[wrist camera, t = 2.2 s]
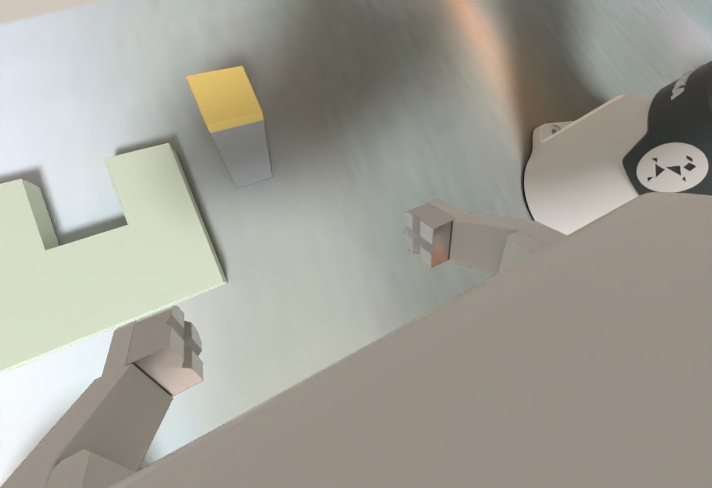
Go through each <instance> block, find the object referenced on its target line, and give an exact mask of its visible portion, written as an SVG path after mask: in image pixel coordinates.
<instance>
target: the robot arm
mask: <svg viewBox="0 0 712 488" xmlns="http://www.w3.org/2000/svg"><path fill="white" fill-rule="evenodd" d="M524 189H525V196H526V200H527V203H528V206H529V209H530V212H531V214H532V216H533V218H534V220H535V221H531V220H523V219H515V218H506V217H498V216H490V215H481V214H473V213H469V214H465V213H463V212H462V211H460V210H458V209H456V208H454V207H452V206H451V205H449V204H447V203H445V202H443V201H442V200H440V199H434V200H432V201H430V202H427V203H425V204H424V205H421V206H419V207H417V208H414V209H412V210H409V211H407V212H404V213H403V216H402V222H403V223H404V224H405V225H406V226H405V228H404V230H403V239H404V242H405V244H406V246H407V247H408V249H409V250H410V251H411V252H413V253H416V254H420V259H421V260H422V261H423V262H424V263H425V264H427V265H428V266H429V267H430V268H433V267H435V266H437V265H439V264H441V263H443V262H446V261H448V260H449V261H451V262H454V263H457V264H460V265H463V266H466V267H469V268H472V269H475V270H478V271H481V272H484V273H487V274H490V275H493V276H492V277H490V278H489V279H487V280H485V281H483V282H481V283H479V284H478V285H476V286H474V287H472V288H470V289H469V290H467V291H465V292H463V293H461V294H459V295H458V296H456V297H454V298H452V299H450V300H449V301H447V302H445V303H443V304H441V305H439V306H438V307H436V308H434V309H432V310H430V311H429V312H427V313H425V314H423V315H421V316H419V317H418V318H416V319H414V320H412V321H410V322H408V323H407V324H405V325H403V326H401V327H399V328H398V329H396V330H394V331H392V332H390V333H388V334H387V335H385V336H383V337H381V338H379V339H378V340H376V341H374V342H372V343H370V344H368V345H367V346H365V347H363V348H361V349H359V350H357V351H356V352H354V353H352V354H350V355H348V356H347V357H345V358H343V359H341V360H339V361H337V362H336V363H334V364H332V365H330V366H328V367H327V368H325V369H323V370H321V371H319V372H317V373H316V374H314V375H312V376H310V377H308V378H306V379H305V380H303V381H301V382H299V383H297V384H296V385H294V386H292V387H290V388H288V389H286V390H285V391H283V392H281V393H279V394H277V395H276V396H274V397H272V398H270V399H268V400H266V401H265V402H263V403H261V404H259V405H257V406H256V407H254V408H252V409H250V410H248V411H246V412H245V413H243V414H241V415H239V416H237V417H235V418H234V419H232V420H230V421H228V422H226V423H225V424H223V425H221V426H219V427H217V428H215V429H214V430H212V431H210V432H208V433H206V434H205V435H203V436H201V437H199V438H197V439H195V440H194V441H192V442H190V443H188V444H186V445H185V446H183V447H181V448H179V449H177V450H175V451H174V452H172V453H170V454H168V455H166V456H164V457H163V458H161V459H159V460H157V461H155V462H154V463H152V464H150V465H148V466H146V467H144V468H143V469H141V470H139V471H138V469H139V467H140V465H141V462H142V460H143V458H144V456H145V454H146V452H147V450H148V448H149V446H150V444H151V442H152V440H153V438H154V436H155V434H156V432H157V430H158V428H159V426H160V424H161V422H162V420H163V418H164V416H165V414H166V412H167V410H168V408H169V406H170V404H171V401H172V399H173V398H172V397H173V396H175V395H177V394H179V393H181V392H183V391H184V390H186V389H188V388H190V387H192V386H194V385H196V384H198V383H200V382H202V381H203V362H202V361H201V360H200V358H199V357H198V356H199V354H200V352H201V351H202V345H201V340H200V337H199V334H198V332H197V330H196V328H195V327H194V325H193V324H192V323H191V322H187V321H184V313H183V312H182V310H181V309H180V308H179V307H178V306H172V307H169V308H167V309H164V310H162V311H159V312H156V313H154V314H151V315H149V316H146V317H143V318H141V319H138V320H137V321H133V322H131V323H128V324H126V325H123V326H121V327H118V328H117V329H116V330H115V331H114V333H113V337H112V341H111V344H110V348H109V352H108V355H107V359H106V363H105V366H104V370H103V373H102V377H100V378H98V379H95V380H94V381H93V383H92V384H91V385H90V386H89V387H88V388H87V389H86V390H85V392H84V393H83V394H82V395H81V396H80V397H79V398H78V400H77V401H76V402H75V403H74V404H73V405H72V406H71V408H70V409H69V410H68V411H67V412H66V413H65V414H64V416H63V417H62V418H61V419H60V420H59V421H58V422H57V424H56V425H55V426H54V427H53V428H52V429H51V430H50V431H49V433H48V434H47V435H46V436H45V437H44V438H43V439H42V441H41V442H40V443H39V444H38V445H37V446H36V447H35V449H34V450H33V451H32V452H31V453H30V454H29V455H28V457H27V458H26V459H25V460H24V461H23V462H22V463H21V465H20V466H19V467H18V468H17V469H16V470H15V471H14V472H13V474H12V475H11V476H10V477H9V478H8V479H7V480H6V482H5V483H4V484H3V485H2V486H1V487H0V488H712V61H711V62H709V63H707V64H705V65H702V66H699V67H697V68H695V69H693V70H691V71H690V72H688V73H686V74H684V75H683V76H682V77H680V78H679V79H678V80H676V81H674V82H673V83H671V84H669V85H667V86H666V87H664V88H662V89H661V90H660V91H659V92H658V93H657V94H655V95H649V96H641V95H629V96H624V95H620V96H617V97H615V98H613V99H611V100H610V101H608V102H606V103H604V104H603V105H601V106H599V107H598V108H596V109H594V110H593V111H591V112H589V113H588V114H586V115H584V116H583V117H581V118H579V119H578V120H576V121H568V122H557V123H546V124H543V125H541V126H539V127H537V128H536V129H535V130H534V132H533V150H532V154H531V156H530V158H529V161H528V163H527V166H526V169H525V176H524Z"/></svg>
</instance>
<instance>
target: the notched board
mask: <svg viewBox="0 0 712 488" xmlns="http://www.w3.org/2000/svg"><path fill="white" fill-rule="evenodd" d="M104 161H105V164H106V166H107V169H108V172H109V174H110V177H111V180H112V183H113V185H114V188H115V191H116V194H117V196H118V199H119V202H120V204H121V207H122V210H123V213H124V215H125V218H126V221H127V224H128V225H125V226H122V227H119V228H116V229H113V230H109V231H106V232H103V233H100V234H96V235H93V236H90V237H87V238H84V239H80V240H77V241H74V242H71V243H67V244H64V245H61V246H60V245H59V242H58V239H57V236H56V233H55V230H54V227H53V224H52V221H51V218H50V215H49V212H48V209H47V207H46V204H45V201H44V198H43V195H42V192H41V189H40V187H38V186H36V185H34V184H32V183H30V182H28V181H25V180H23V179H18V180H14V181H10V182H5V183H1V184H0V372H4V371H8V370H12V369H15V368H17V367H20V366H22V365H25V364H27V363H30V362H32V361H35V360H37V359H40V358H42V357H45V356H47V355H50V354H52V353H55V352H57V351H60V350H62V349H64V348H67V347H69V346H72V345H74V344H77V343H79V342H82V341H84V340H87V339H89V338H92V337H94V336H97V335H99V334H102V333H104V332H107V331H109V330H112V329H114V328H117V327H119V326H122V325H124V324H127V323H129V322H132V321H134V320H137V319H139V318H142V317H144V316H147V315H149V314H152V313H154V312H157V311H159V310H162V309H164V308H166V307H169V306H171V305H174V304H176V303H179V302H181V301H184V300H186V299H189V298H191V297H194V296H196V295H199V294H201V293H204V292H206V291H209V290H211V289H214V288H216V287H219V286H221V285H224V284H226V283H228V282H227V280H226V277H225V275H224V272H223V270H222V267H221V265H220V262H219V260H218V257H217V255H216V252H215V250H214V247H213V245H212V242H211V240H210V237H209V235H208V232H207V229H206V227H205V224H204V222H203V219H202V217H201V214H200V212H199V209H198V207H197V204H196V202H195V199H194V197H193V194H192V192H191V189H190V187H189V184H188V182H187V179H186V176H185V174H184V171H183V169H182V166H181V164H180V161H179V159H178V156H177V154H176V152H175V151H174V149H173V148H172V147H171V145H170V144H169V143H166V144H161V145H157V146H153V147H149V148H145V149H141V150H137V151H133V152H129V153H124V154H120V155H116V156H112V157H108V158H104Z"/></svg>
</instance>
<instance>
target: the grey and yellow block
mask: <svg viewBox="0 0 712 488" xmlns="http://www.w3.org/2000/svg"><path fill="white" fill-rule="evenodd" d="M186 77H187V80H188V82H189V85H190V87H191V90H192V92H193V94H194V97H195V99H196V102H197V104H198V106H199V109H200V111H201V114H202V116H203V119H204V121H205V123H206V126H207V128H208V130H209V132H210V134H211V136H212V138H213V140H214V142H215V145H216V147H217V149H218V151H219V153H220V155H221V157H222V159H223V161H224V163H225V165H226V167H227V170H228V172H229V174H230V176H231V178H232V180H233V182H234V184H235V186H236V188H239V187H243V186H246V185H249V184H252V183H256V182H259V181H262V180H265V179H269V178H272V172H271V165H270V159H269V152H268V145H267V139H266V132H265V125H264V119H263V112H262V109H261V107H260V105H259V102H258V100H257V98H256V96H255V93H254V91H253V89H252V87H251V84H250V82H249V80H248V77H247V75H246V73H245V71H244V68H243V66H238V67H232V68H227V69H221V70H216V71H210V72H205V73H200V74H194V75H189V76H186Z"/></svg>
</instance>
